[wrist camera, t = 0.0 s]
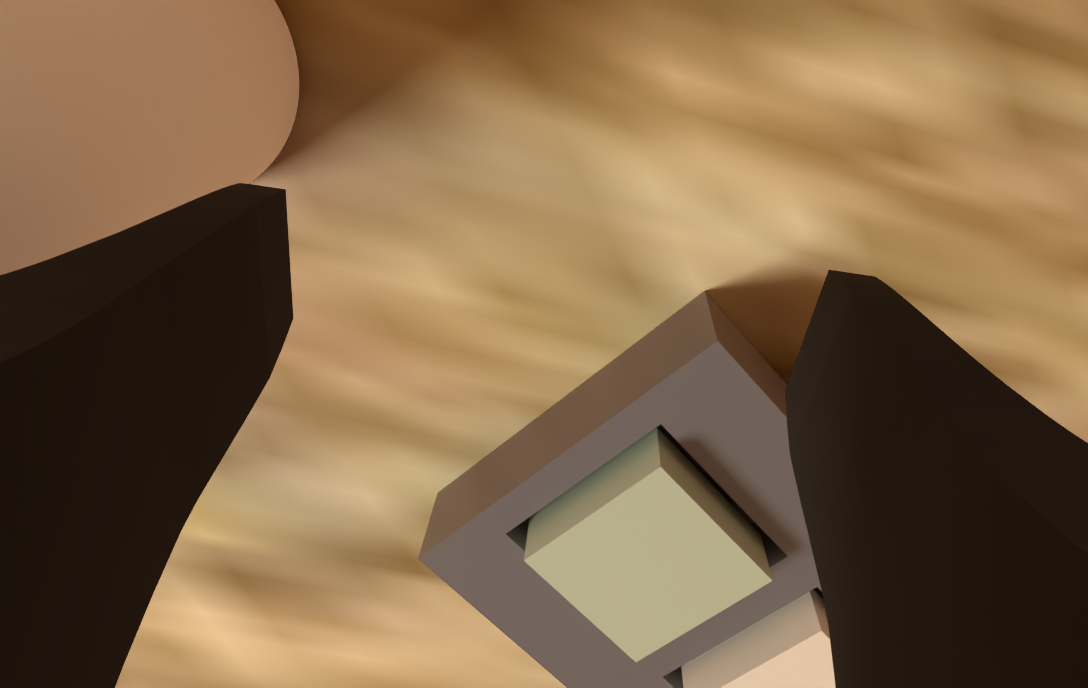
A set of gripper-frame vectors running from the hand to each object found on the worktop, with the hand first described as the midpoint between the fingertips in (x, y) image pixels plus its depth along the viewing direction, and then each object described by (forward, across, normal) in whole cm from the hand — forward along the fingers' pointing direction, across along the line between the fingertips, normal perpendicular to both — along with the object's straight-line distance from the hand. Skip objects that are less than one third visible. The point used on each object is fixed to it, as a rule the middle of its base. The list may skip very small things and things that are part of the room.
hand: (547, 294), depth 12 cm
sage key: (+7, -3, +11) cm, 13 cm away
